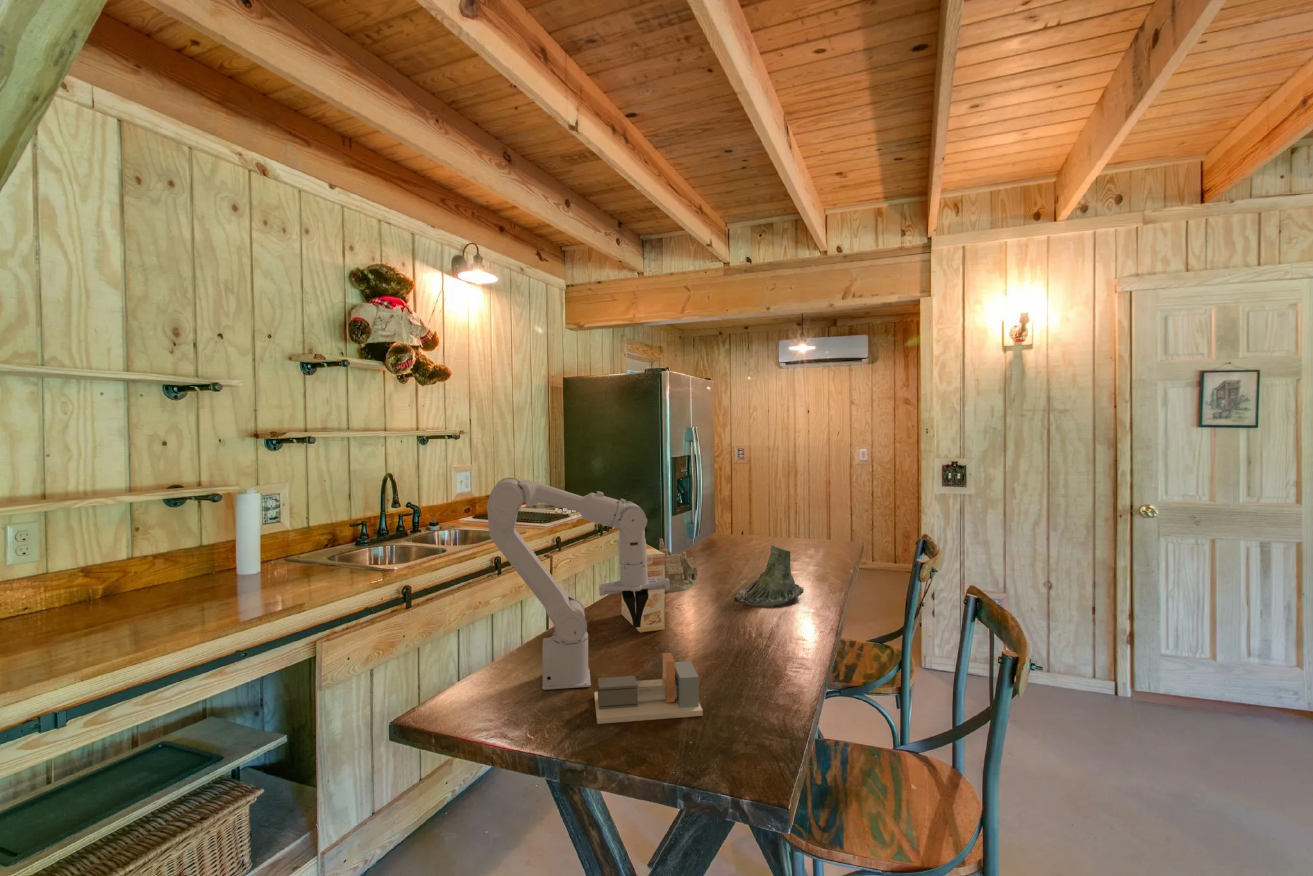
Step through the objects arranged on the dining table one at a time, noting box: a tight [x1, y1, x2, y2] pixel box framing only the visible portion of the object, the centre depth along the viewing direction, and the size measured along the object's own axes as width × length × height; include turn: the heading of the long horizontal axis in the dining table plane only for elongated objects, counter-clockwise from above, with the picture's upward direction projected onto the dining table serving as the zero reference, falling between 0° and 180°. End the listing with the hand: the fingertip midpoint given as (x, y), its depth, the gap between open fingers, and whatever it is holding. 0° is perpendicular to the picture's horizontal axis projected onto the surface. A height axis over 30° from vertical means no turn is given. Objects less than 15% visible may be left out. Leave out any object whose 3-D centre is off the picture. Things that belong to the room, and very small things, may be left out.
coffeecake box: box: [621, 543, 666, 633], centre depth 154 cm, size 15×7×20 cm, turn 22°
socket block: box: [675, 660, 700, 708], centre depth 110 cm, size 4×7×6 cm, turn 9°
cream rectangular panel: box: [593, 675, 704, 725], centre depth 109 cm, size 19×10×5 cm, turn 99°
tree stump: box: [735, 545, 805, 608], centre depth 176 cm, size 18×20×18 cm
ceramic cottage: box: [658, 538, 700, 593], centre depth 189 cm, size 16×16×15 cm
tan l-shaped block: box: [636, 652, 678, 703], centre depth 109 cm, size 12×4×8 cm, turn 99°
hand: (636, 625), depth 122 cm, fingers closed
